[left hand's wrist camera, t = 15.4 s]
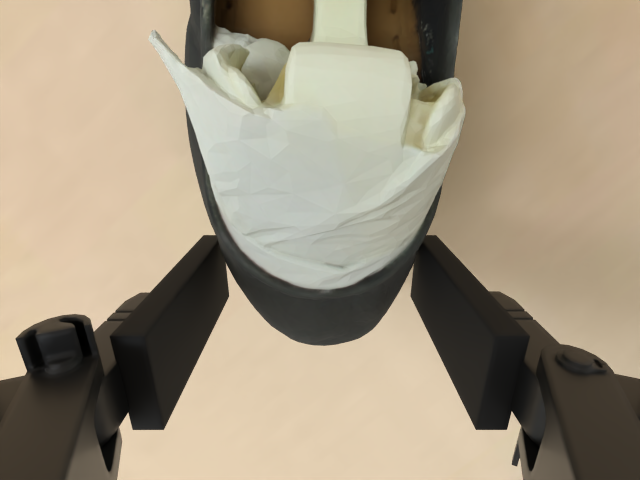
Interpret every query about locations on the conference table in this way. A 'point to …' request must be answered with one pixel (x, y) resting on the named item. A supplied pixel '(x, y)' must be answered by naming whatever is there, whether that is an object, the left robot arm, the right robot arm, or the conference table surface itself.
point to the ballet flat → (320, 147)
